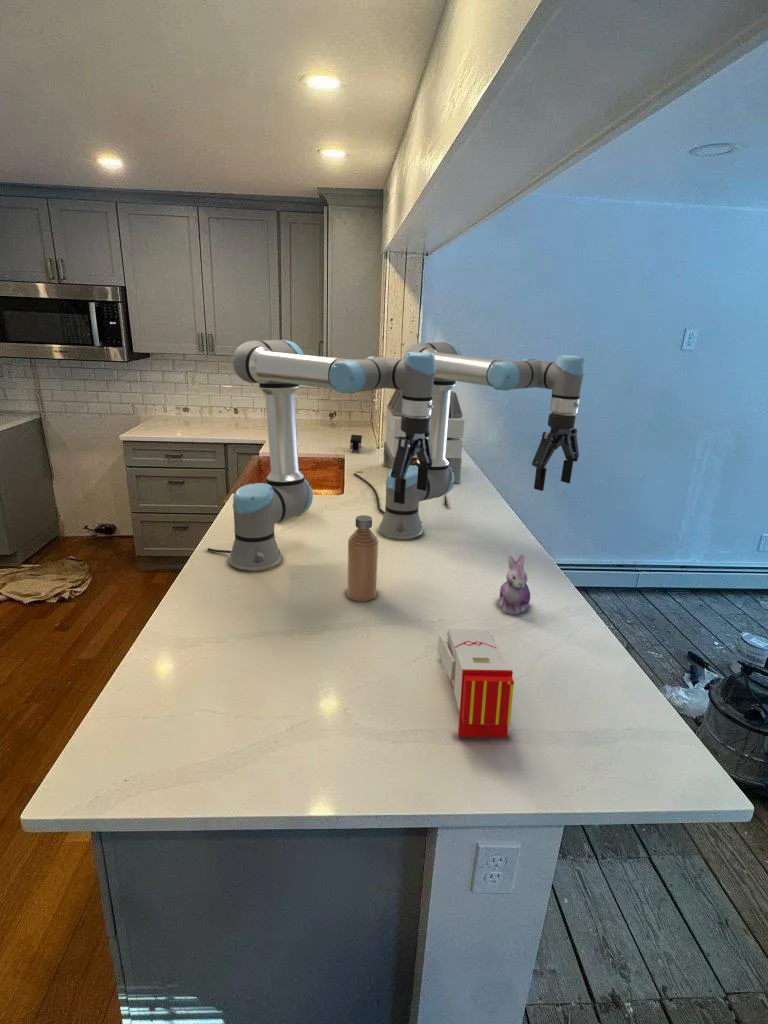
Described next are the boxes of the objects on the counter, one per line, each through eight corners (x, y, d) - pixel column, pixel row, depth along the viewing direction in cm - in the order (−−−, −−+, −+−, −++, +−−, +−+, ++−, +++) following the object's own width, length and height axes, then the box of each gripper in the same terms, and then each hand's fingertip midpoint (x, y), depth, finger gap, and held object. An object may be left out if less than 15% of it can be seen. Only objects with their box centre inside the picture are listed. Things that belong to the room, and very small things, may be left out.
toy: (488, 613, 130) (523, 677, 101) (484, 667, 133) (517, 744, 104) (435, 612, 130) (455, 676, 101) (432, 666, 133) (451, 743, 103)
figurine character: (361, 456, 307) (362, 446, 320) (362, 442, 303) (362, 433, 317) (349, 455, 306) (350, 446, 320) (349, 442, 303) (350, 433, 316)
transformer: (382, 463, 289) (386, 382, 275) (445, 464, 293) (451, 384, 279) (390, 482, 257) (394, 392, 243) (460, 483, 261) (468, 394, 247)
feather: (444, 490, 254) (446, 487, 253) (447, 509, 227) (450, 505, 226) (441, 488, 253) (443, 485, 253) (443, 507, 227) (446, 503, 226)
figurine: (512, 619, 147) (519, 566, 142) (488, 601, 156) (494, 551, 151) (540, 611, 151) (548, 560, 146) (515, 594, 160) (522, 546, 155)
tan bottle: (348, 601, 153) (349, 525, 145) (345, 587, 160) (347, 514, 153) (377, 600, 154) (380, 524, 146) (374, 586, 161) (377, 514, 154)
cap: (356, 529, 148) (356, 521, 147) (354, 523, 152) (355, 515, 151) (372, 529, 148) (373, 520, 148) (370, 523, 152) (371, 515, 152)
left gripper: (407, 425, 131) (402, 511, 138) (448, 411, 152) (442, 487, 159) (379, 421, 134) (375, 505, 141) (423, 408, 155) (418, 482, 162)
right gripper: (548, 419, 148) (537, 496, 155) (598, 411, 163) (586, 482, 171) (525, 414, 153) (515, 489, 160) (575, 407, 169) (564, 476, 176)
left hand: (410, 496), depth 150 cm, fingers open, 13 cm apart
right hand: (552, 485), depth 166 cm, fingers open, 13 cm apart
